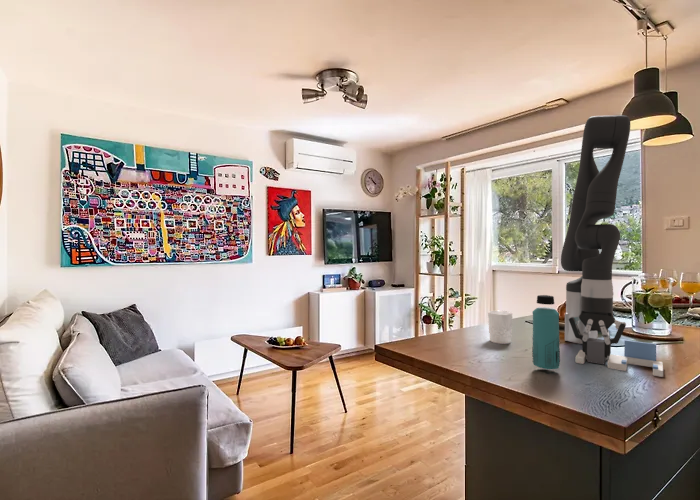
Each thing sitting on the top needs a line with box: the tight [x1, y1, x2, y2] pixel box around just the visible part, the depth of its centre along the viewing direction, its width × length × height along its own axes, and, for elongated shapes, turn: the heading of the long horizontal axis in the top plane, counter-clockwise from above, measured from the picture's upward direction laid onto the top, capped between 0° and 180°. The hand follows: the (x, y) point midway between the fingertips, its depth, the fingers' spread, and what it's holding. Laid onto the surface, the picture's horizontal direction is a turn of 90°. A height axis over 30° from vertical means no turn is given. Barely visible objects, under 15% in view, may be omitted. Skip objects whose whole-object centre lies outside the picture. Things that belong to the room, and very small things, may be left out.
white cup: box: [487, 310, 513, 345], centre depth 129 cm, size 8×8×10 cm
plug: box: [586, 338, 607, 365], centre depth 106 cm, size 4×4×6 cm
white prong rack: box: [574, 339, 664, 378], centre depth 103 cm, size 19×10×6 cm, turn 51°
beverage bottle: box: [531, 294, 561, 370], centre depth 98 cm, size 6×7×20 cm
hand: (596, 355), depth 106 cm, fingers closed on plug, 4 cm apart
